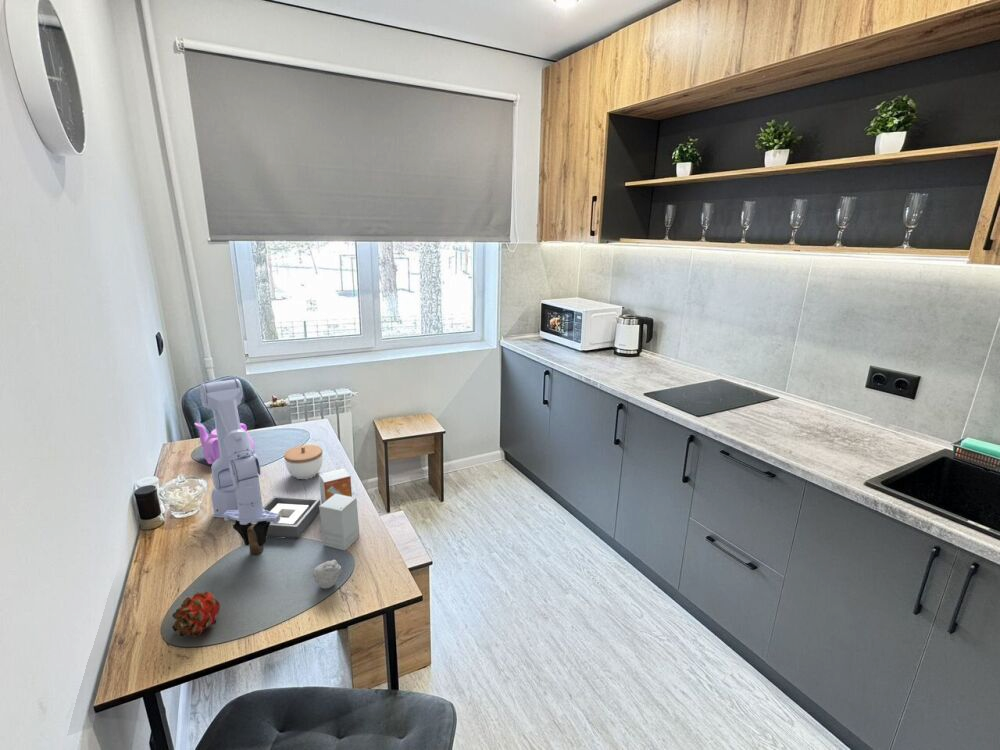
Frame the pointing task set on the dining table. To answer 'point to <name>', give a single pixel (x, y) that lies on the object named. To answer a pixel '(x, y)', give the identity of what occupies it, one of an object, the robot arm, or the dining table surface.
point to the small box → (335, 484)
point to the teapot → (214, 443)
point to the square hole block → (291, 515)
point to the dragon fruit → (196, 614)
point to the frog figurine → (327, 574)
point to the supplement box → (339, 521)
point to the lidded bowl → (303, 461)
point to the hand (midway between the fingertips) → (255, 543)
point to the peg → (253, 541)
